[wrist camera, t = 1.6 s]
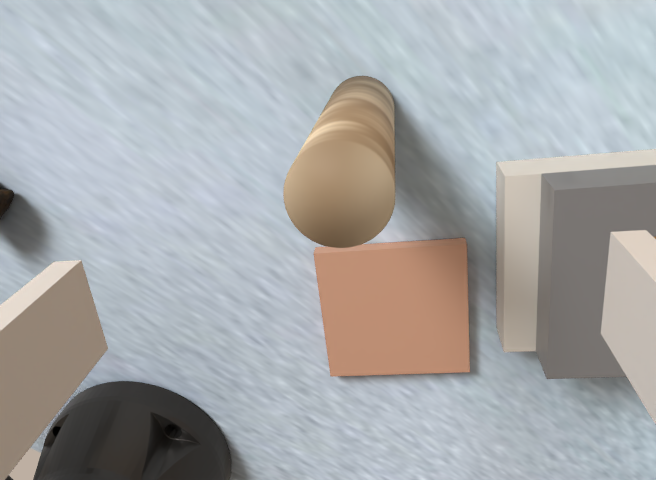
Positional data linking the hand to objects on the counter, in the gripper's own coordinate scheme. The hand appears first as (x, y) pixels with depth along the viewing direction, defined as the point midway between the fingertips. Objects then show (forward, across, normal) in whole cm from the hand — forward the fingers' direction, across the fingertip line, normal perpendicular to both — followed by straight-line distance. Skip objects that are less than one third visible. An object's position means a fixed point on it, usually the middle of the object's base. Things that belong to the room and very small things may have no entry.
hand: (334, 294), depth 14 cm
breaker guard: (+23, +16, -10) cm, 29 cm away
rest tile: (+23, +1, -14) cm, 27 cm away
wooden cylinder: (+23, 0, 0) cm, 23 cm away
